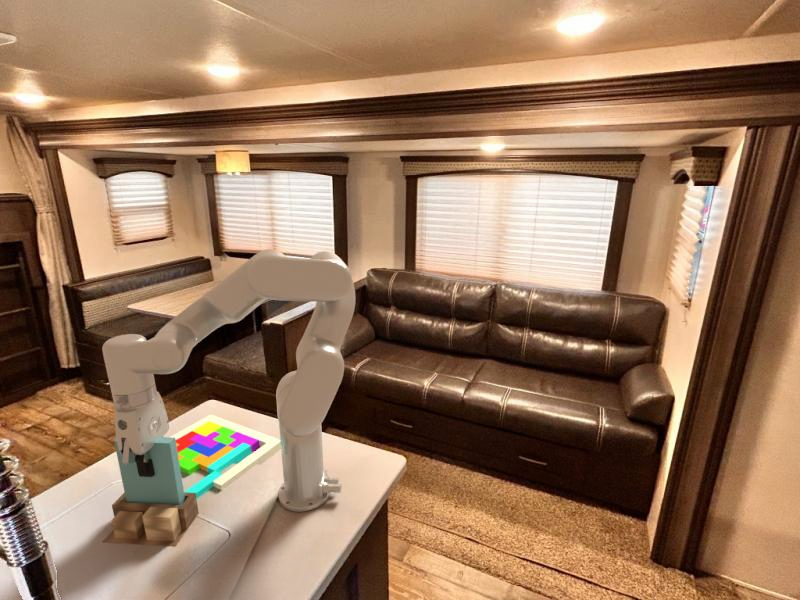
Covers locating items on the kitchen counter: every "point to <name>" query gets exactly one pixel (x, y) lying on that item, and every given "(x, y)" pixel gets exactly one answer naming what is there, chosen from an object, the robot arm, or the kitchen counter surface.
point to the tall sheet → (162, 484)
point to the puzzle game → (221, 451)
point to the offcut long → (162, 523)
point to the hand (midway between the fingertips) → (150, 471)
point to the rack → (185, 511)
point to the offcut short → (128, 525)
